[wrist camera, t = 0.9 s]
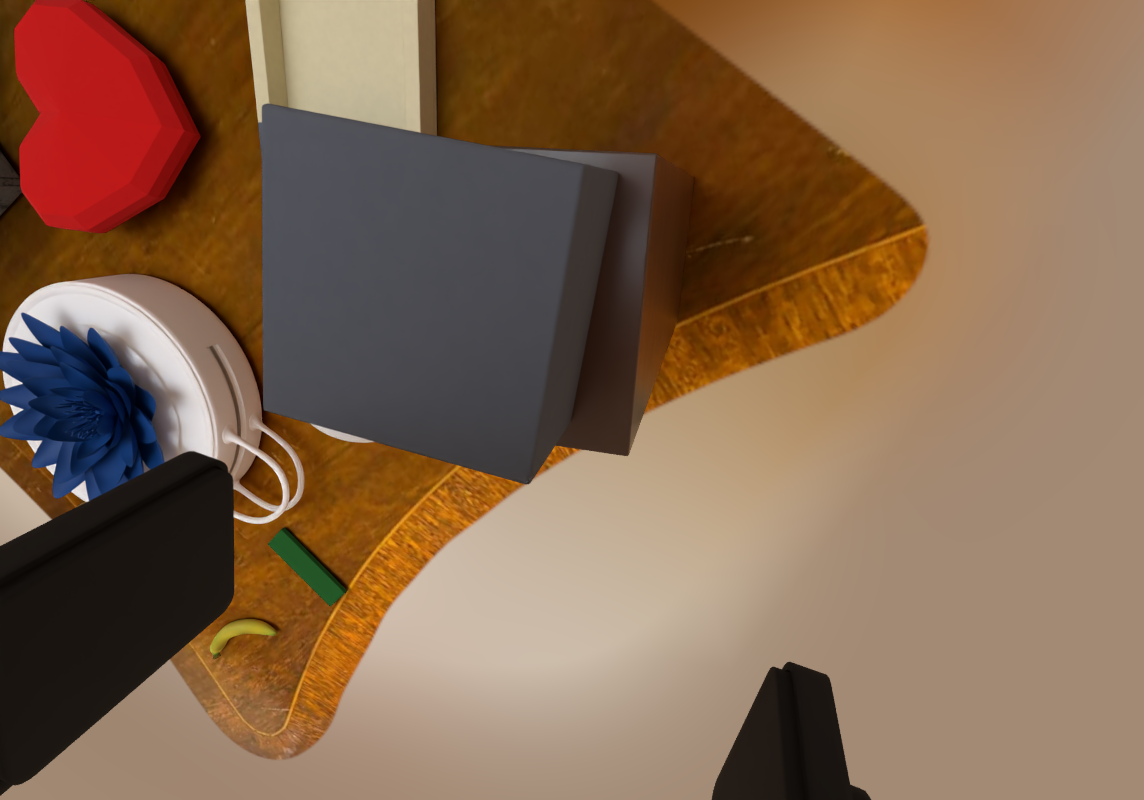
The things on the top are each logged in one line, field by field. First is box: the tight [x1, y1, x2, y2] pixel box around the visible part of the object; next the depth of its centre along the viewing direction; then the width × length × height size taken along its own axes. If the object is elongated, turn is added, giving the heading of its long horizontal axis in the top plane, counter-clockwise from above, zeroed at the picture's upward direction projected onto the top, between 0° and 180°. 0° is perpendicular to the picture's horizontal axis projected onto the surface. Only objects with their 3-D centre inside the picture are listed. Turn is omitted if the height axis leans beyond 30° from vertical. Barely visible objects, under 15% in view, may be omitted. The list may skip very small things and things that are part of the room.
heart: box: [14, 0, 201, 233], centre depth 33 cm, size 12×4×10 cm
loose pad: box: [262, 103, 618, 484], centre depth 13 cm, size 6×6×4 cm
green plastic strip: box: [268, 528, 347, 606], centre depth 43 cm, size 6×1×2 cm
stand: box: [488, 145, 694, 456], centre depth 23 cm, size 7×7×18 cm
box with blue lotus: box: [0, 274, 305, 524], centre depth 38 cm, size 7×16×20 cm
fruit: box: [210, 619, 277, 659], centre depth 46 cm, size 7×1×3 cm
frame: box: [245, 0, 437, 136], centre depth 31 cm, size 9×15×2 cm, turn 177°
